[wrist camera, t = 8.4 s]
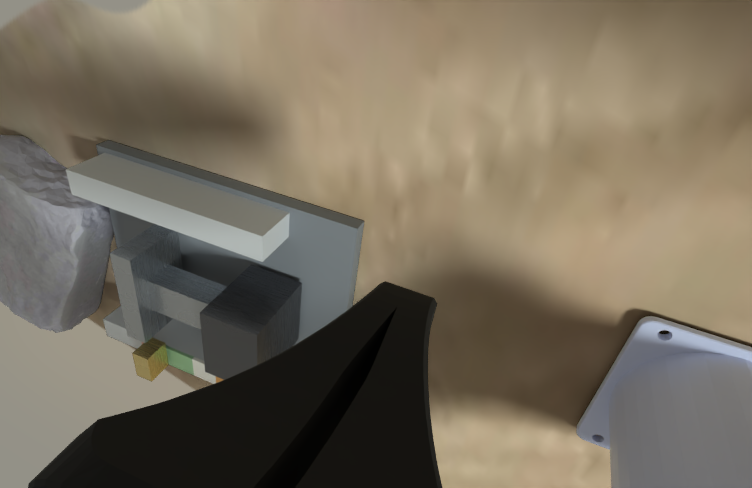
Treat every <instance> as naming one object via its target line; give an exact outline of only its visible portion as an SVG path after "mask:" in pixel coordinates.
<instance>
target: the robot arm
mask: <svg viewBox="0 0 752 488" xmlns="http://www.w3.org/2000/svg"><path fill="white" fill-rule="evenodd" d="M436 306H437V303H436V301H435V299H434V298H432V297H429V296H426V295H423V294H420V293H418V292H415V291H412V290H409V289H406V288H403V287H400V286H397V285H394V284H391V283H388V282H383V283H381V284H379V285H378V286H377V287H376V288H375V289H374V290H372V291H371V292H370V293H369V294H368V295H366V296H365V297H364V298H363V299H361V300H360V301H359V302H357V303H356V304H355V305H354V306H352V307H351V308H350V309H348V310H347V311H346V312H344V313H343V314H341V315H340V316H339V317H337V318H336V319H334V320H333V321H331V322H330V323H329V324H327V325H326V326H324V327H323V328H321V329H320V330H318V331H317V332H315V333H313V334H312V335H310V336H308V337H307V338H305V339H304V340H302V341H300V342H299V343H297V344H296V345H294V346H292V347H290V348H289V349H287V350H285V351H283V352H282V353H280V354H278V355H276V356H274V357H272V358H270V359H268V360H266V361H264V362H262V363H260V364H258V365H256V366H254V367H252V368H250V369H247V370H245V371H243V372H241V373H239V374H236V375H234V376H232V377H230V378H227V379H225V380H223V381H220V382H218V383H215V384H213V385H210V386H207V387H204V388H202V389H199V390H196V391H193V392H190V393H188V394H185V395H182V396H179V397H176V398H174V399H171V400H168V401H165V402H161V403H158V404H155V405H151V406H147V407H144V408H140V409H136V410H133V411H129V412H125V413H121V414H118V415H114V416H111V417H106V418H102V419H99V420H97V421H96V422H95V423H94V424H93V425H91V426H90V427H89V428H88V429H86V430H85V431H84V432H83V433H82V434H80V435H79V436H78V437H77V438H76V439H75V440H74V441H73V442H71V443H70V444H69V445H68V446H67V447H66V448H65V449H64V450H63V451H62V452H61V453H60V454H59V455H58V456H57V457H56V458H55V459H54V460H53V461H52V462H51V463H50V464H49V465H48V466H47V467H45V468H44V469H43V470H42V471H41V472H40V473H39V474H38V475H37V476H36V477H35V478H34V479H33V480H32V481H31V482H30V483H29V487H28V488H442V484H441V480H440V475H439V470H438V466H437V460H436V454H435V447H434V441H433V434H432V426H431V417H430V407H429V391H428V345H429V334H430V328H431V324H432V321H433V317H434V313H435V309H436ZM662 330H667V331H669V333H668V334H660V333H659V332H660V331H662ZM576 432H577V435H578V436H579V437H580V438H581V439H583V440H586V441H588V442H591V443H593V444H596V445H599V446H601V447H604V448H607V449H609V450H610V464H611V488H752V347H750V346H746V345H743V344H740V343H737V342H734V341H731V340H727V339H724V338H721V337H718V336H715V335H712V334H709V333H705V332H702V331H699V330H696V329H693V328H690V327H687V326H683V325H680V324H677V323H674V322H671V321H668V320H665V319H661V318H658V317H654V316H647V317H644V318H642V319H640V320H639V322H638V323H637V325H636V326H635V328H634V330H633V331H632V333H631V335H630V337H629V338H628V340H627V342H626V343H625V345H624V347H623V348H622V350H621V352H620V353H619V355H618V357H617V358H616V360H615V362H614V364H613V365H612V367H611V369H610V370H609V372H608V374H607V375H606V377H605V379H604V380H603V382H602V384H601V385H600V387H599V389H598V391H597V392H596V394H595V396H594V397H593V399H592V401H591V402H590V404H589V406H588V407H587V409H586V411H585V412H584V414H583V416H582V418H581V419H580V421H579V423H578V424H577V430H576ZM598 435H601V436H598Z"/></svg>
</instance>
